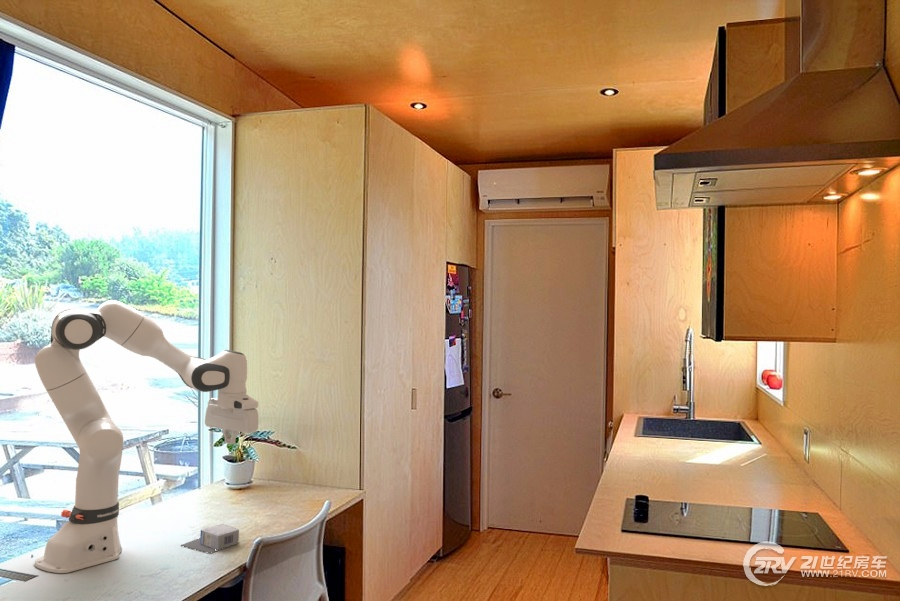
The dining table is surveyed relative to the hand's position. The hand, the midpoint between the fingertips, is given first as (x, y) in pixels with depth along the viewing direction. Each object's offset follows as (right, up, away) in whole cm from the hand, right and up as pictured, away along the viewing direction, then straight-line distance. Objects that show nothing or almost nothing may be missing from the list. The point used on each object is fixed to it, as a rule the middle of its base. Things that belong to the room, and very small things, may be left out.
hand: (229, 443), depth 222 cm
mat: (-3, -29, -10) cm, 31 cm away
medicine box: (+4, -27, -13) cm, 30 cm away
